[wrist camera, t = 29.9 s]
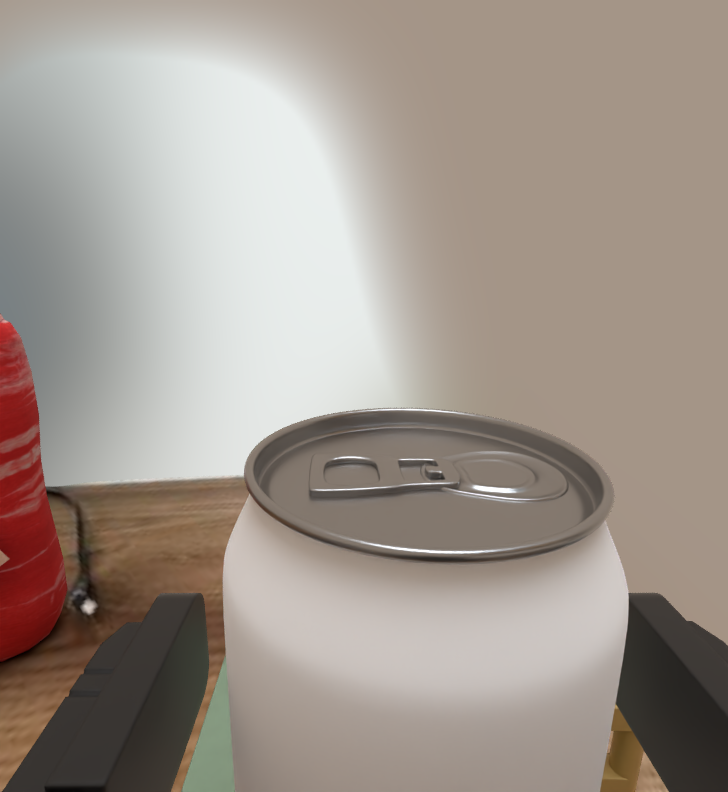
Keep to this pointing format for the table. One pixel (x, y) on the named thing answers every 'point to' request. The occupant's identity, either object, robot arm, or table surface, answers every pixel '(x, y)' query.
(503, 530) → the can
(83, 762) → the robot arm
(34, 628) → the water bottle
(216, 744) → the cabinet
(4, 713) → the table surface
